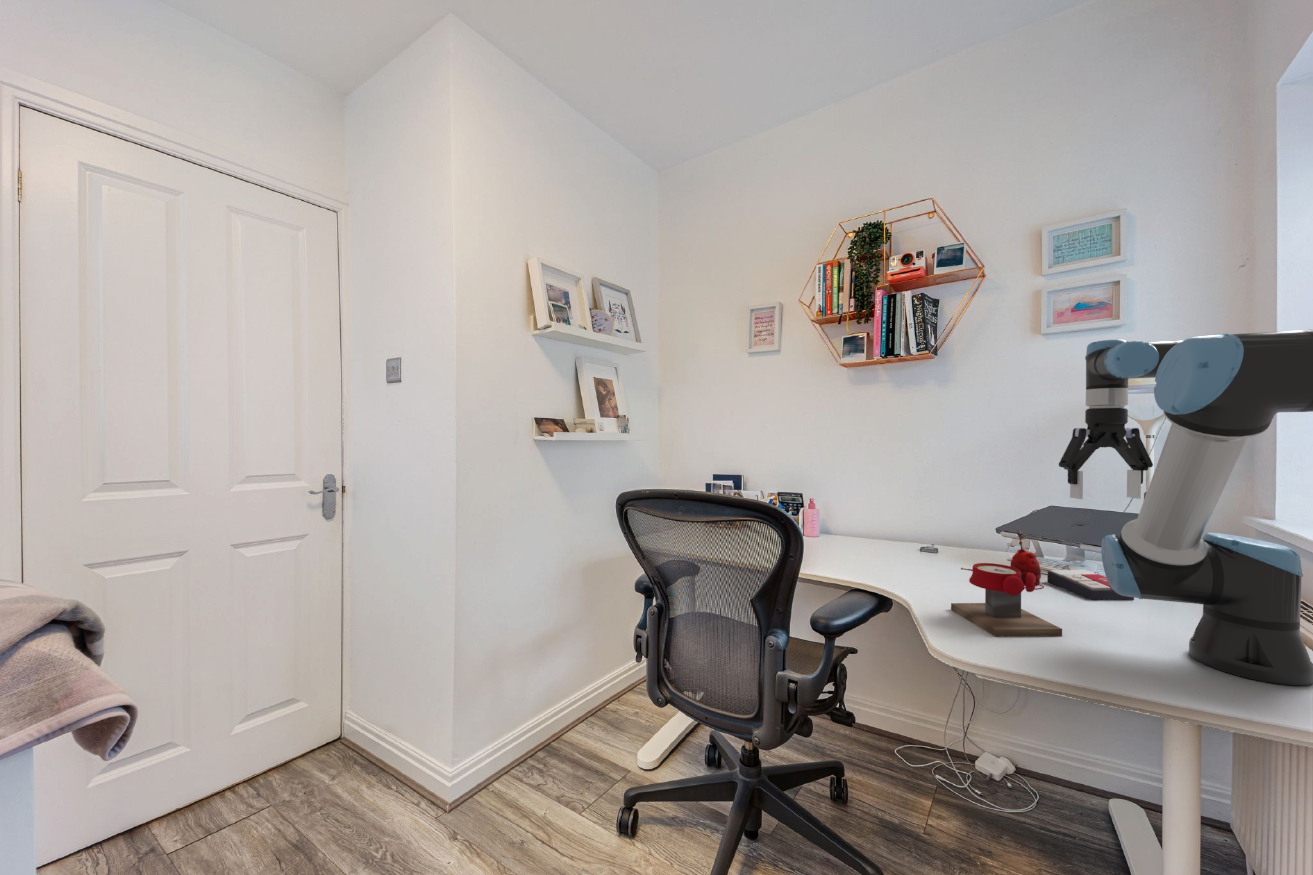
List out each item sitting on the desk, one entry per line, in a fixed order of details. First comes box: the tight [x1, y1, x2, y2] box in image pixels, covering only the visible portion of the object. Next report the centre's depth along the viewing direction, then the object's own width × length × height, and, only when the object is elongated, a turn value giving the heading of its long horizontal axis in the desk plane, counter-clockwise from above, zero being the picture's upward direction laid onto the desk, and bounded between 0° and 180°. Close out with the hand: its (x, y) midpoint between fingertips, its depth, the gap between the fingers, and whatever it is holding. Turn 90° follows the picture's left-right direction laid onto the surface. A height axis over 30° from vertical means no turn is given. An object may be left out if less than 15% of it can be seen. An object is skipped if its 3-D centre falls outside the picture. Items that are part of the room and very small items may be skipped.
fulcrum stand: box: [950, 589, 1063, 638], centre depth 116 cm, size 16×14×8 cm
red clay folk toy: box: [1010, 529, 1042, 585], centre depth 145 cm, size 8×7×15 cm
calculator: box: [1046, 569, 1135, 601], centre depth 138 cm, size 11×4×15 cm
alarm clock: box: [960, 562, 1045, 595], centre depth 116 cm, size 10×6×15 cm
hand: (1104, 498), depth 122 cm, fingers open, 13 cm apart
